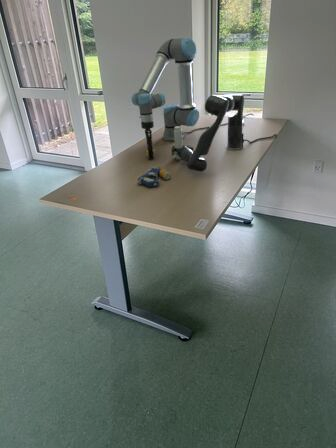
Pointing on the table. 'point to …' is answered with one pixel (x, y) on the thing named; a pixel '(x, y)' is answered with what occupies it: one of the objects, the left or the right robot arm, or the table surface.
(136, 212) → the table surface
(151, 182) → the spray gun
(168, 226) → the table surface
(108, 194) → the table surface
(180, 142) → the white cylinder
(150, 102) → the left robot arm
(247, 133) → the table surface
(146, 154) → the lid
